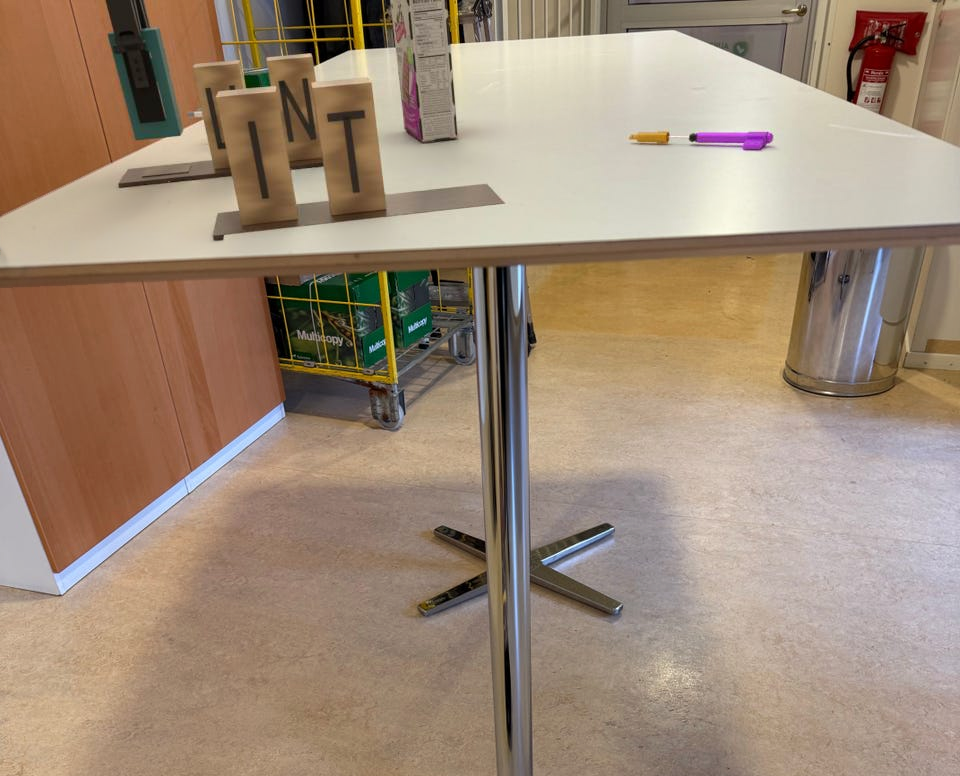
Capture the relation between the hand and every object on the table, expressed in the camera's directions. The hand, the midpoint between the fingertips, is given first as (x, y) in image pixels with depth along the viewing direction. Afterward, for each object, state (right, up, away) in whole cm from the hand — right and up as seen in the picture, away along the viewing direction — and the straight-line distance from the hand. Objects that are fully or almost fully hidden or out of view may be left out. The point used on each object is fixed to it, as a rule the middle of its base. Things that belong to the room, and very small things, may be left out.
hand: (155, 118), depth 103 cm
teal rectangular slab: (0, -1, +1) cm, 2 cm away
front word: (+25, -19, -18) cm, 37 cm away
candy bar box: (+30, +6, +14) cm, 34 cm away
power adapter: (+3, +9, +21) cm, 23 cm away
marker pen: (+60, -5, -3) cm, 60 cm away
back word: (+8, -3, +4) cm, 10 cm away
